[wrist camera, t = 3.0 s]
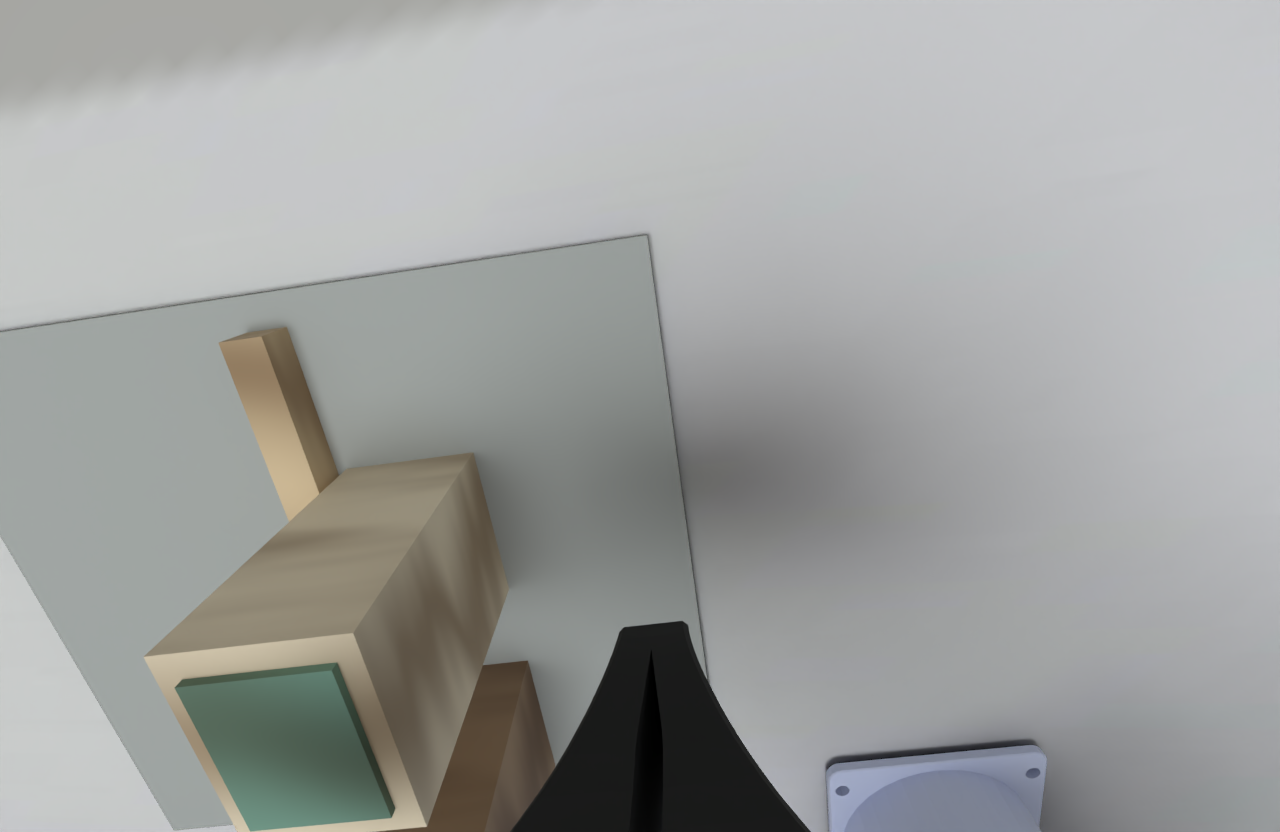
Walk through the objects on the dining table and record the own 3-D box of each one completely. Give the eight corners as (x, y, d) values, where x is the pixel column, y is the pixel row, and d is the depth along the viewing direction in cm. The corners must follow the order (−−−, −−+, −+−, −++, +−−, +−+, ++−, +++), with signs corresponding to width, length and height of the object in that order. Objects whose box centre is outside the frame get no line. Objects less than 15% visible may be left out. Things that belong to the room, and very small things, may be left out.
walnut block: (555, 764, 23) (510, 1046, 15) (452, 775, 23) (358, 1057, 16) (527, 660, 21) (462, 919, 14) (416, 672, 21) (292, 933, 14)
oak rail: (447, 785, 23) (437, 815, 22) (417, 788, 23) (406, 818, 22) (286, 327, 17) (261, 336, 16) (246, 332, 17) (218, 343, 16)
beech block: (509, 589, 20) (423, 836, 12) (392, 602, 20) (237, 853, 13) (473, 452, 18) (347, 640, 11) (346, 468, 19) (134, 664, 11)
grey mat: (719, 768, 23) (720, 778, 23) (181, 820, 25) (173, 830, 24) (647, 234, 16) (646, 235, 16) (-94, 345, 18) (-111, 349, 17)
